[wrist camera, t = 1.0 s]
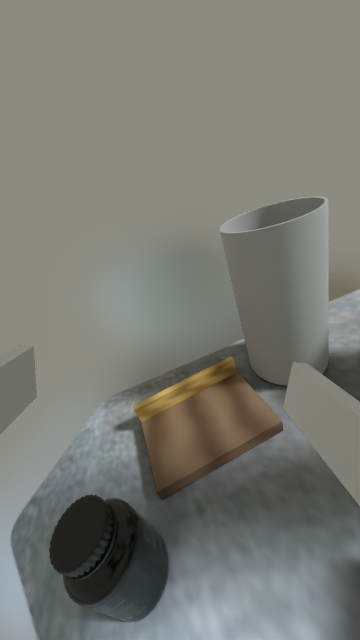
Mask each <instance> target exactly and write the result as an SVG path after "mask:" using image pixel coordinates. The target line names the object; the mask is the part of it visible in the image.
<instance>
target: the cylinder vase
mask: <svg viewBox="0 0 360 640" xmlns="http://www.w3.org/2000/svg"><path fill="white" fill-rule="evenodd" d="M220 234H221V238H222V242H223V247H224V251H225V255H226V260H227V264H228V268H229V273H230V277H231V282H232V286H233V291H234V295H235V299H236V304H237V308H238V312H239V317H240V321H241V326H242V330H243V334H244V339H245V343H246V348H247V352H248V356H249V361H250V365H251V367H252V369H253V370H254V372H255V373H256V374H257V375H258V376H260V377H261V378H262V379H264V380H266V381H268V382H271V383H274V384H278V385H284V386H288V382H289V377H290V373H291V368H292V364H293V362H297V363H307V364H309V365H310V366H311V367H313V368H314V369H315V370H317V371H318V372H320V373H321V374H323V373H324V371H325V370H326V368H327V366H328V360H329V353H328V199H327V198H325V197H320V196H318V197H317V196H315V197H314V196H313V197H303V198H296V199H291V200H286V201H282V202H278V203H274V204H270V205H267V206H263V207H260V208H257V209H254V210H252V211H249V212H246V213H244V214H241V215H239V216H237V217H235V218H233V219H231V220H229V221H227V222H226V223H224V224H223V225H222V226H221V227H220Z"/></svg>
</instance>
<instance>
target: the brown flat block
mask: <svg viewBox="0 0 360 640" xmlns="http://www.w3.org/2000/svg"><path fill="white" fill-rule="evenodd" d="M133 408H134V411H135V413H136V414H137V416H138V418H139V419H140V421H141V422H142V427H143V432H144V436H145V441H146V445H147V450H148V455H149V459H150V464H151V469H152V473H153V478H154V483H155V487H156V492H157V494H158V495H159V496H160V497H161V499H162V500H163V499H165V498H167V497H168V496H170V495H172V494H174V493H175V492H177V491H179V490H181V489H182V488H184V487H186V486H188V485H189V484H191V483H193V482H195V481H196V480H198V479H200V478H201V477H203V476H205V475H207V474H208V473H210V472H212V471H214V470H215V469H217V468H219V467H221V466H222V465H224V464H226V463H228V462H229V461H231V460H233V459H234V458H236V457H238V456H240V455H241V454H243V453H245V452H247V451H248V450H250V449H252V448H254V447H255V446H257V445H259V444H261V443H262V442H264V441H266V440H267V439H269V438H271V437H273V436H274V435H276V434H278V433H280V432H281V431H283V425H282V421H281V420H280V419H279V418H278V416H277V415H276V414H275V413H274V412H273V411H272V410H271V409H270V408H269V406H268V405H267V404H266V403H265V402H264V401H263V400H262V399H261V397H260V396H259V395H258V394H257V393H256V392H255V391H254V390H253V388H252V387H251V386H250V385H249V384H248V383H247V382H246V381H245V380H244V378H243V377H242V376H241V375H240V374H239V373H238V371H237V368H236V364H235V360H234V358H233V357H232V356H230V357H228V358H226V359H224V360H222V361H220V362H218V363H216V364H214V365H212V366H210V367H208V368H206V369H204V370H202V371H201V372H199V373H197V374H195V375H193V376H191V377H189V378H187V379H185V380H183V381H181V382H179V383H177V384H175V385H173V386H171V387H169V388H167V389H165V390H163V391H161V392H159V393H157V394H155V395H153V396H151V397H149V398H147V399H145V400H143V401H141V402H140V403H138V404H136V405H134V406H133Z"/></svg>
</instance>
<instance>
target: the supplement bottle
mask: <svg viewBox="0 0 360 640" xmlns="http://www.w3.org/2000/svg"><path fill="white" fill-rule="evenodd" d="M49 551H50V559H51V564H52V565H53V568H54V569H55V570H57V572H58V573H60V574H62V575H63V580H64V585H65V588H66V591H67V593H68V595H69V596H70V598H71V599H72V600H73V601H74V602H75V603H77V604H79V605H81V606H83V607H85V608H88V609H91V610H94V611H96V612H99V613H102V614H105V615H107V616H110V617H113V618H116V619H119V620H122V621H125V622H136V621H139V620H141V619H143V618H144V617H146V616H147V615H148V614H149V613H150V612H151V611H152V610H153V609H154V608H155V606H156V605H157V603H158V602H159V600H160V598H161V596H162V594H163V591H164V588H165V585H166V581H167V576H168V553H167V548H166V545H165V543H164V540H163V539H162V537H161V535H160V534H159V533H158V532H157V531H156V530H155V529H154V528H153V527H152V526H151V525H150V524H149V523H148V522H147V521H146V520H145V519H144V518H143V517H142V516H141V515H140V514H139V513H138V512H137V511H135V510H134V509H133V508H132V507H131V506H130V505H129V504H128V503H126V502H125V501H123V500H121V499H117V498H110V499H106V500H103V499H102V498H100V497H98V496H97V495H94V496H93V495H89V496H88V495H86V496H85V497H81V498H80V499H78V500H76V501H75V502H74V503H73V504H71V506H70V507H69V508H67V510H66V512H65V513H64V514H63V515H62V517H61V519H60V520H59V521H58V524H57V526H56V527H55V530H54V533H53V535H52V540H51V542H50V550H49Z"/></svg>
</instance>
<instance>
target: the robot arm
mask: <svg viewBox="0 0 360 640" xmlns="http://www.w3.org/2000/svg"><path fill="white" fill-rule="evenodd" d="M35 376H36V375H35V360H34V347H33V346H23V345H17V346H15V347H13V348H11V349H9V350H7V351H6V352H4V353H2V354H0V434H1V433H2V432H3V431H4V430H5V429H6V428H7V427H8V426H9V425H10V424H11V423H12V422H13V421H14V420H15V419H16V418H17V417H18V416H19V414H21V412H22V411H23V410H24V409H25V408H26V407H27V406H28V405H29V404H30V403H31V402H32V401H33V400H34V399H35V398H36V397H37V390H36V377H35ZM283 409H284V410H285V412H286V413H287V414H288V416H289V417H290V418H291V419H292V421H293V422H294V423H295V424H296V426H297V427H298V428H299V430H300V431H301V432H302V433H303V435H304V436H305V437H306V438H307V440H308V441H309V442H310V444H311V445H312V446H313V447H314V449H315V450H316V451H317V453H318V454H319V455H320V456H321V458H322V459H323V460H324V461H325V463H326V464H327V465H328V467H329V468H330V469H331V470H332V472H333V473H334V474H335V475H336V477H337V478H338V479H339V481H340V482H341V483H342V484H343V486H344V487H345V488H346V489H347V491H348V492H349V493H350V495H351V496H352V497H353V498H354V500H355V501H356V502H357V503H358V505H359V506H360V402H359V401H358V400H357V399H355V398H354V397H352V396H351V395H350V394H348V393H347V392H346V391H344V390H343V389H342V388H340V387H339V386H337V385H336V384H335V383H333V382H332V381H331V380H329V379H328V378H326V377H325V376H324V375H322V374H321V373H320V372H318V371H317V370H315V369H314V368H313V367H311V366H310V365H309V364H307V363H297V362H293V364H292V368H291V373H290V377H289V382H288V386H287V391H286V395H285V400H284V405H283Z"/></svg>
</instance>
